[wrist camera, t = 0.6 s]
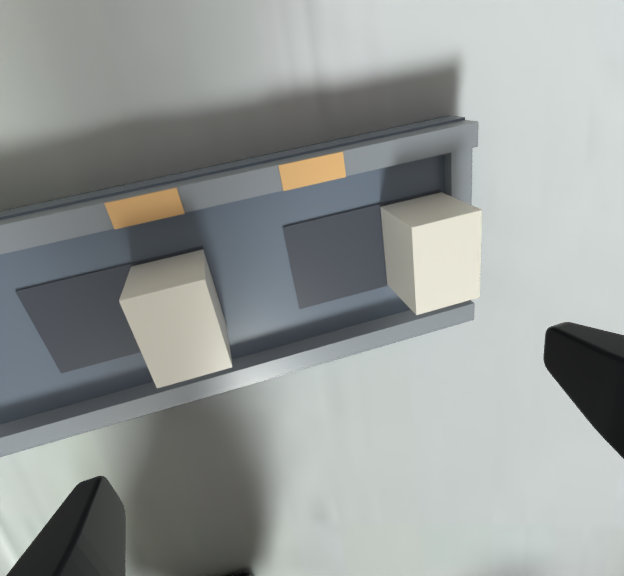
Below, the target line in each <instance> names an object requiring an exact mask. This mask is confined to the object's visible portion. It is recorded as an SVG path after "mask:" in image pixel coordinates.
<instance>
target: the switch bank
mask: <svg viewBox="0 0 624 576" xmlns="http://www.w3.org/2000/svg"><path fill="white" fill-rule="evenodd" d="M473 147H478V122H477V121H469V120H465V117H457V116H446V117H441V118H437V119H432V120H427V121H423V122H418V123H413V124H409V125H404V126H399V127H394V128H390V129H385V130H380V131H376V132H371V133H366V134H362V135H357V136H352V137H347V138H343V139H338V140H333V141H329V142H324V143H319V144H315V145H310V146H305V147H300V148H296V149H291V150H286V151H282V152H277V153H272V154H268V155H263V156H258V157H253V158H249V159H244V160H239V161H235V162H230V163H225V164H221V165H216V166H211V167H206V168H202V169H197V170H192V171H188V172H183V173H178V174H174V175H169V176H164V177H159V178H155V179H150V180H145V181H141V182H136V183H131V184H127V185H122V186H117V187H112V188H108V189H103V190H98V191H94V192H89V193H84V194H80V195H75V196H70V197H65V198H61V199H56V200H51V201H47V202H42V203H37V204H33V205H28V206H23V207H18V208H14V209H9V210H4V211H0V457H3V456H6V455H10V454H13V453H16V452H20V451H23V450H27V449H30V448H34V447H37V446H41V445H44V444H47V443H51V442H54V441H58V440H61V439H65V438H68V437H72V436H75V435H78V434H82V433H85V432H89V431H92V430H96V429H99V428H103V427H106V426H110V425H113V424H116V423H120V422H123V421H127V420H130V419H134V418H137V417H141V416H144V415H147V414H151V413H154V412H158V411H161V410H165V409H168V408H172V407H175V406H178V405H182V404H185V403H189V402H192V401H196V400H199V399H203V398H206V397H209V396H213V395H216V394H220V393H223V392H227V391H230V390H234V389H237V388H240V387H244V386H247V385H251V384H254V383H258V382H261V381H265V380H268V379H271V378H275V377H278V376H282V375H285V374H289V373H292V372H296V371H299V370H302V369H306V368H309V367H313V366H316V365H320V364H323V363H327V362H330V361H333V360H337V359H340V358H344V357H347V356H351V355H354V354H358V353H361V352H364V351H368V350H371V349H375V348H378V347H382V346H385V345H389V344H392V343H396V342H399V341H402V340H406V339H409V338H413V337H416V336H420V335H423V334H427V333H430V332H433V331H437V330H440V329H444V328H447V327H451V326H454V325H458V324H461V323H464V322H468V321H471V320H474V303H473V302H472V301H471V300H469V301H465V302H462V303H458V304H454V305H451V306H447V307H444V308H440V309H437V310H433V311H430V312H426V313H423V314H419V315H416V314H415V313H414V312H413V311H412V310H411V309H410V308H409V307H408V306H407V305H406V304H405V303H404V302H403V301H402V300H401V299H400V297H399V296H398V295H397V294H396V293H395V292H394V291H393V290H392V289H391V288H390V287H389V286H388V285H387V276H386V264H385V253H384V242H383V231H382V219H381V208H380V207H382V206H386V205H390V204H394V203H398V202H402V201H407V200H411V199H415V198H419V197H423V196H427V195H432V194H436V193H440V192H442V193H445V194H447V195H449V196H451V197H454V198H456V199H458V200H460V201H463V202H465V203H467V204H470V205H471V199H472V148H473ZM202 249H203V250H204V253H205V256H206V260H207V263H208V266H209V269H210V273H211V276H212V279H213V282H214V286H215V289H216V292H217V296H218V299H219V302H220V305H221V309H222V312H223V315H224V318H225V322H226V325H227V329H228V337H229V345H230V352H231V360H232V367H231V368H228V369H224V370H221V371H217V372H214V373H210V374H207V375H203V376H200V377H196V378H193V379H189V380H185V381H182V382H178V383H175V384H171V385H168V386H164V387H161V388H156V385H155V383H154V381H153V378H152V376H151V374H150V371H149V369H148V367H147V365H146V362H145V360H144V358H143V355H142V353H141V351H140V348H139V346H138V344H137V341H136V339H135V337H134V335H133V332H132V330H131V328H130V325H129V323H128V321H127V318H126V316H125V314H124V312H123V309H122V307H121V305H120V302H119V299H120V296H121V293H122V291H123V288H124V285H125V282H126V279H127V277H128V274H129V271H130V268H131V267H132V266H136V265H140V264H144V263H148V262H152V261H157V260H161V259H165V258H169V257H173V256H177V255H182V254H186V253H190V252H194V251H198V250H202Z"/></svg>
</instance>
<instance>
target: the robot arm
mask: <svg viewBox="0 0 624 576" xmlns="http://www.w3.org/2000/svg"><path fill="white" fill-rule="evenodd" d="M544 363H545V366H546V368H547V370H548V371H549V372H550V374H551V375H552V376H553V377H554V379H555V380H556V381H557V382H558V384H559V385H560V386H561V387H562V389H563V390H564V391H565V392H566V394H567V395H568V396H569V397H570V399H571V400H572V401H573V402H574V403H575V405H576V406H577V407H578V408H579V410H580V411H581V412H582V413H583V415H584V416H585V417H586V418H587V420H588V421H589V422H590V423H591V424H592V426H593V427H594V428H595V429H596V430H597V431H598V432H599V434H600V435H601V436H602V437H603V438H604V439H605V440H606V441H607V442H608V443H609V444H610V445H611V446H612V447H613V448H614V449H615V450H616V451H617V452H618V453H619V454H620V456H621V457H622V458H623V459H624V335H620V334H616V333H612V332H608V331H604V330H600V329H595V328H591V327H587V326H583V325H579V324H575V323H571V322H564V323H560V324H557V325H554V326H551V327H549V328H548V329H547V331H546V334H545V346H544ZM6 576H125V509H124V506H123V503H122V501H121V500H120V498H119V497H118V495H117V493H116V492H115V490H114V489H113V487H112V486H111V484H110V483H109V481H108V480H107V479H106V478H105V477H104V476H98V477H95V478H92V479H89V480H86V481H83V482H81V483H79V484H78V485H77V486H76V487H75V488H74V489H73V491H72V492H71V493H70V494H69V496H68V497H67V498H66V500H65V501H64V502H63V503H62V505H61V506H60V507H59V509H58V510H57V511H56V512H55V514H54V515H53V516H52V518H51V519H50V520H49V521H48V523H47V524H46V525H45V527H44V528H43V529H42V530H41V532H40V533H39V534H38V536H37V537H36V538H35V539H34V541H33V542H32V543H31V545H30V546H29V547H28V548H27V550H26V551H25V552H24V554H23V555H22V556H21V557H20V559H19V560H18V561H17V563H16V564H15V565H14V566H13V568H12V569H11V570H10V572H9V573H8V574H7V575H6ZM235 576H251V575H250V574H249V573H241V574H238V575H235Z"/></svg>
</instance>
